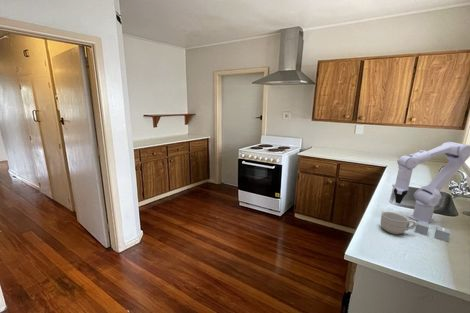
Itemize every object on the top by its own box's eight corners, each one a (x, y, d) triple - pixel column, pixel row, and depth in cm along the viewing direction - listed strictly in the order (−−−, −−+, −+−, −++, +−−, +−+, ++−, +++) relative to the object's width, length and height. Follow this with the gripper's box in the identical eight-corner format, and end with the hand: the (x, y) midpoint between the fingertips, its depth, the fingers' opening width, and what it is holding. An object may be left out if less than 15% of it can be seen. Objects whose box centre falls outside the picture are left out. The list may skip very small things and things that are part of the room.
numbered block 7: (398, 222, 119) (400, 214, 118) (408, 226, 117) (410, 217, 115) (397, 226, 116) (399, 217, 115) (407, 229, 113) (410, 221, 112)
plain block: (415, 228, 114) (417, 220, 113) (426, 232, 112) (429, 224, 110) (414, 232, 111) (416, 224, 110) (426, 236, 108) (428, 227, 107)
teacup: (377, 231, 111) (380, 216, 109) (380, 222, 119) (383, 208, 117) (413, 242, 102) (417, 226, 101) (413, 232, 111) (417, 217, 109)
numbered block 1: (434, 234, 110) (437, 225, 109) (447, 238, 107) (449, 229, 106) (434, 238, 107) (437, 229, 105) (447, 242, 104) (450, 233, 103)
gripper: (396, 173, 126) (391, 196, 129) (392, 180, 115) (386, 204, 118) (411, 177, 121) (406, 200, 124) (409, 183, 110) (403, 209, 114)
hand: (397, 202), depth 121 cm, fingers closed
